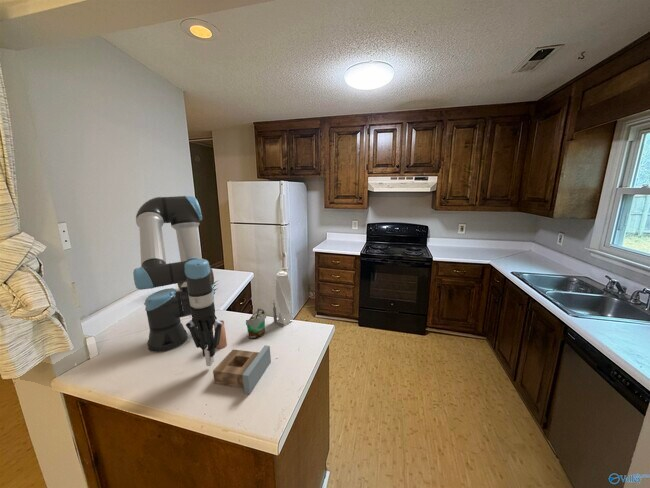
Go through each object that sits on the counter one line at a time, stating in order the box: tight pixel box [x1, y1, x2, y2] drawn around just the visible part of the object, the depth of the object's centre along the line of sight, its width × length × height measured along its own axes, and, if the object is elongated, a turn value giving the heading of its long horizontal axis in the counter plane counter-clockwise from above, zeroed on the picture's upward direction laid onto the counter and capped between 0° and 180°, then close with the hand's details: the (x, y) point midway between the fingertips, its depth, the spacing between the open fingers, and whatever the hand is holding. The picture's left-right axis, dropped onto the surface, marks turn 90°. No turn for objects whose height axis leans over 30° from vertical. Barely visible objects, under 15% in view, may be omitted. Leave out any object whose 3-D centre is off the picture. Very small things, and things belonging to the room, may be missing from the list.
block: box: [212, 348, 260, 389], centre depth 92 cm, size 12×12×5 cm
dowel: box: [213, 319, 228, 350], centre depth 108 cm, size 4×4×12 cm
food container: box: [245, 308, 267, 340], centre depth 118 cm, size 12×6×10 cm, turn 168°
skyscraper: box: [272, 266, 293, 327], centre depth 127 cm, size 8×8×28 cm
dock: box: [242, 345, 272, 395], centre depth 92 cm, size 23×16×8 cm
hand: (210, 363), depth 95 cm, fingers closed
